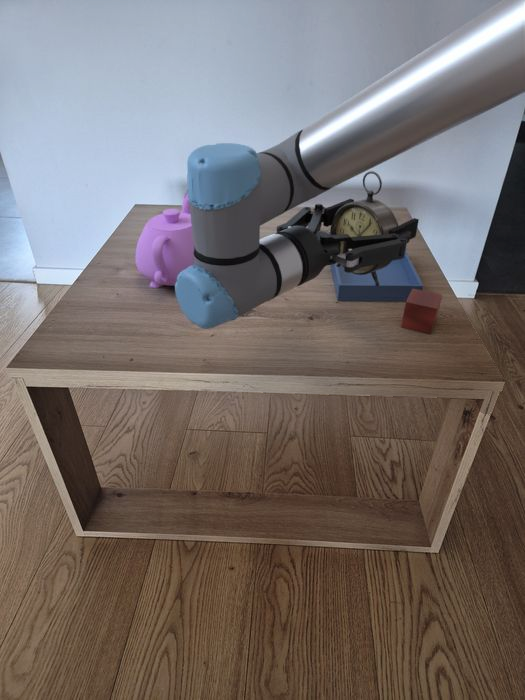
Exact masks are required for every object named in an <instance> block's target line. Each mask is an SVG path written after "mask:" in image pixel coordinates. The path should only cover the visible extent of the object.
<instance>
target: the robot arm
mask: <svg viewBox="0 0 525 700" xmlns="http://www.w3.org/2000/svg"><path fill="white" fill-rule="evenodd" d="M523 94H525V0H500V1H499V2H497V3H496V4H494V5H493V6H491V7H490V8H488V9H487V10H485V11H483V12H481V13H480V14H478V15H477V16H476V17H474V18H473V19H471V20H469V21H468V22H465V24H463V25H461V26H460V27H458V28H457V29H455V30H454V31H452V32H451V33H449V34H448V35H446V36H445V37H443V38H442V39H440V40H438V41H436V42H435V43H434V44H432V45H430V46H429V47H428V48H426V49H424V50H423V51H421V52H419V53H418V54H417V55H415V56H414V57H411V58H410V59H409V60H407V61H406V62H404V63H402V64H401V65H400V66H398V67H396V68H395V69H393V70H392V71H390V72H389V73H387V74H385V75H384V76H383V77H380V78H379V79H377V80H376V81H375V82H373V83H372V84H370V85H369V86H367V87H365V88H364V89H362V90H361V91H359V92H358V93H356V94H354V95H353V96H352V97H350V98H348V99H347V100H345V101H343V102H342V103H341V104H339V105H338V106H336V107H335V108H333V109H331V110H329V111H328V112H327V113H325V114H324V115H322V116H321V117H319V118H317V119H316V120H314V121H313V122H311V123H309V124H308V125H306V126H305V127H304V128H303V129H301V130H299V131H297V132H295V133H294V134H292V135H291V136H289V137H288V138H286V139H285V140H283V141H281V142H280V143H278V144H276V145H274V146H272V147H269V148H268V149H265V150H263V151H260V152H257V151H256V150H255V149H253V147H250V146H249V145H245V144H241V143H234V142H221V143H220V142H219V143H216V144H205V145H202V146H199V147H196V148H195V149H194V150H193V151H191V152H190V154H189V156H188V158H187V161H186V162H187V163H186V165H187V166H186V167H187V168H186V169H187V175H186V180H187V190H186V192H187V196H188V199H189V205H190V214H191V224H192V234H193V243H194V252H193V255H194V265H192V266H189V267H187V269H185V270H183V271H182V272H180V273H179V275H178V276H177V282H176V283H175V286H174V292H175V297H176V300H177V303H178V305H179V307H180V309H181V311H182V313H183V314H184V316H185V317H186V318H187V320H189V321H190V322H191V323H192V324H194V325H196V326H197V327H198V328H201V329H204V330H210V329H214V328H216V327H218V326H221V325H224V324H225V323H228V322H232V321H236V320H237V319H238V318H240V317H242V316H243V315H245V314H247V313H248V312H250V311H252V310H254V309H255V308H257V307H259V306H261V305H263V304H265V303H266V302H270V301H271V300H273V299H275V298H277V297H278V296H281V295H283V294H285V293H286V292H289V291H291V290H293V289H294V288H296V287H300V286H302V285H304V284H306V283H308V282H310V281H311V280H314V279H315V278H317V277H318V276H319V275H320V273H321V272H322V271H323V270H324V269H325V267H327V266H331V265H333V264H336V263H340V264H342V265H345V268H344V271H345V272H348V273H351V272H354V271H355V270H357V269H359V268H362V267H367V266H371V265H376V264H380V263H385V262H389V261H393V260H398V259H402V258H404V256H405V251H406V252H407V244H408V243H409V242H410V241H411V240H412V239H414V238H416V237H417V231H418V225H419V222H420V219H419V218H416V217H413V218H412V219H410V220H407V221H406V222H404V223H401V224H398V226H397V227H395V228H393V229H391V230H389V234H382V235H370V236H357V237H350V236H349V235H348V234H340V235H331V234H330V233H328V232H327V231H324V230H321V228H322V226H323V227H326V228H328V227H331V223H332V220H333V217H334V215H335V214H336V212H337V211H338V209H339V208H340V207H342V206H343V205H344V204H346V203H349V202H355V199H353V198H348V199H346V200H343V201H340V202H338V203H335V204H333V205H331V206H328V207H325V209H323V204H322V203H316V204H314V208H315V211H314V210H311V209H312V208H311V207H310V206H304V207H302V208H301V209H300V210H299V211H298V212H297V213H296V214H295V215H293V216H292V217H291V218H289V219H288V221H286V222H285V223H282V224H279V225H277V226H276V232H275V233H273V234H269V235H267V236H264V237H262V238H260V237H261V235H260V233H261V231H260V229H261V226H262V225H264V224H266V223H268V222H270V221H272V220H273V219H275V218H277V217H279V216H281V215H283V214H284V213H286V212H288V211H290V210H292V209H294V208H295V207H296V208H297V207H298V206H300V205H302V204H304V203H306V202H309V201H310V200H312V199H314V198H317V197H318V196H319V195H321V194H323V193H326V192H329V190H331V189H333V188H335V187H336V186H338V185H340V184H343V183H345V182H346V181H349V180H351V179H353V178H354V177H357V176H359V175H361V174H363V173H365V172H368V171H370V170H371V169H373V168H375V167H378V166H379V165H381V164H383V163H385V162H387V161H389V160H391V159H393V158H395V157H397V156H399V155H401V154H403V153H405V152H407V151H409V150H411V149H414V148H416V147H417V146H419V145H421V144H424V143H425V142H427V141H430V140H432V139H434V138H435V137H437V136H440V135H442V134H444V133H445V132H448V131H449V130H452V129H454V128H456V127H458V126H460V125H462V124H465V123H466V122H468V121H470V120H473V119H474V118H476V117H478V116H480V115H482V114H485V113H487V112H488V111H490V110H493V109H494V108H496V107H498V106H500V105H502V104H504V103H507V102H508V101H510V100H512V99H514V98H517V97H518V96H521V95H523ZM342 241H344V244H343V252H342V253H340V249H341V242H342Z"/></svg>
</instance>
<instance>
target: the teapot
mask: <svg viewBox="0 0 525 700" xmlns="http://www.w3.org/2000/svg"><path fill="white" fill-rule="evenodd" d="M193 252H194V243H193V234H192V224H191V214H190V205H189V199H188V196H187V191H186V192H185V193H184V195H183V198H182V207H181V210H179V209H178V208H167V209H165V210H163V211H162V213H159V214H157V215H155V216H152V217H151V218H150V219H148V221H147V222H146V223H145V225H144V227H143V229H142V232H141V234H140V236H139V238H138V240H137V243H136V248H135V265H136V268H137V270H138V272H139V273H140V274H141V275H142V276H144V278H146V279H147V280H149V281H150V282H149V283H150V284H149V286H150V288H154V289H159V288H162V287H163V286H174V287H175V283H176V282H177V276H178V275H179V273H180V272H182V271H183V270H185V269H187V267H189V266H192V265H194V255H193Z"/></svg>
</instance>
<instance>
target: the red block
mask: <svg viewBox="0 0 525 700" xmlns="http://www.w3.org/2000/svg"><path fill="white" fill-rule="evenodd" d="M442 298H443V294H440V293H436V292H431V291H426V290H417V289H412V291H411V293H410V295H409V297H408V299H407V301H405V305H404V310H403V315H402V320H401V326H400V327H401V328H403V329H407V330H413V331H416V332H420V333H425V334H429V335H431V334H432V332H433V330H434V328H435V325H436V322H437V319H438V315H439V311H440V307H441V303H442Z"/></svg>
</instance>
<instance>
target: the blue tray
mask: <svg viewBox="0 0 525 700" xmlns="http://www.w3.org/2000/svg"><path fill="white" fill-rule="evenodd" d="M336 265H337V263H336V264H333V265H330V270H331V275H332V281H333V285H334V290H335V295H336V300H337V302H406V301H407V299H408V297H409V295H410V293H411V291H412V289H417V290H422V291H424V290H423V289H424V284H423V282H422V280H421V278H420V276H419V275H418V272H417V270H416V268H415V266H414V264H413V262H412V260H411V258H410V256H409V253H408V252H407V250H406V251H405V256H404V258H402V259H398V260H393V261H392V262H391V263H390V264H389V265H387V266H386V267H384V268H382V269H379V270H376V274H377V278H378V282H379V286H376V285H375V281H374V279H373V277H372V274H371V273H369V274H365V275H357V274H353V273H348V272H345V271H344V267H343V266H342V265H340V267H337V266H336Z"/></svg>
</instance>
